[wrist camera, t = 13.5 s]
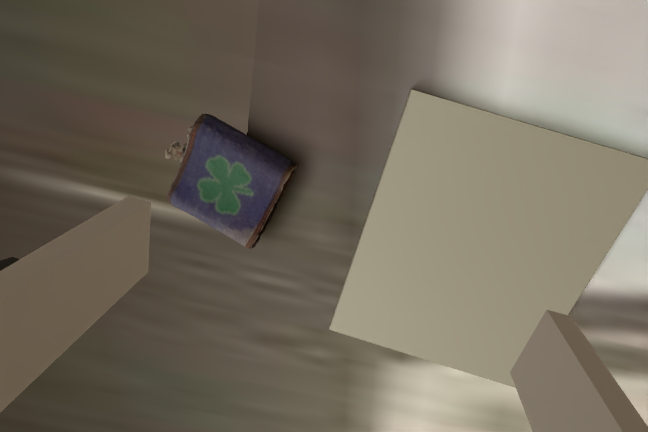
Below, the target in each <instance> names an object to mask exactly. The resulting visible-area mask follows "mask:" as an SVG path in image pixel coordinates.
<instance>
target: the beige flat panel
mask: <svg viewBox="0 0 648 432" xmlns="http://www.w3.org/2000/svg"><path fill="white" fill-rule="evenodd" d="M647 189H648V159H647V158H643V157H640V156H637V155H633V154H630V153H626V152H623V151H620V150H616V149H613V148H609V147H606V146H603V145H599V144H596V143H593V142H589V141H586V140H582V139H579V138H576V137H572V136H569V135H566V134H562V133H559V132H555V131H552V130H549V129H545V128H542V127H538V126H535V125H532V124H528V123H525V122H522V121H518V120H515V119H511V118H508V117H505V116H501V115H498V114H495V113H491V112H488V111H484V110H481V109H478V108H474V107H471V106H467V105H464V104H461V103H457V102H454V101H451V100H447V99H444V98H440V97H437V96H434V95H430V94H427V93H423V92H420V91H417V90H413V89H410V92H409V95H408V98H407V101H406V103H405V106H404V109H403V112H402V115H401V118H400V121H399V124H398V127H397V130H396V133H395V136H394V139H393V141H392V144H391V147H390V150H389V153H388V156H387V159H386V162H385V165H384V168H383V171H382V174H381V176H380V179H379V182H378V185H377V188H376V191H375V194H374V197H373V200H372V203H371V206H370V209H369V212H368V214H367V217H366V220H365V223H364V226H363V229H362V232H361V235H360V238H359V241H358V244H357V247H356V249H355V252H354V255H353V258H352V261H351V264H350V267H349V270H348V273H347V276H346V279H345V282H344V285H343V287H342V290H341V293H340V296H339V299H338V302H337V305H336V308H335V311H334V314H333V317H332V320H331V323H330V328H329V330H332V331H336V332H339V333H342V334H345V335H348V336H352V337H355V338H358V339H361V340H364V341H368V342H371V343H374V344H377V345H380V346H384V347H387V348H390V349H393V350H397V351H400V352H403V353H406V354H409V355H413V356H416V357H419V358H422V359H425V360H429V361H432V362H435V363H438V364H442V365H445V366H448V367H451V368H454V369H458V370H461V371H464V372H467V373H470V374H474V375H477V376H480V377H483V378H486V379H490V380H493V381H496V382H499V383H503V384H506V385H509V386H512V387H515V384H514V381H513V379H512V376H511V374H510V371H511V370H512V368H513V366H514V365H515V363H516V361H517V359H518V358H519V356H520V354H521V353H522V351H523V349H524V347H525V346H526V344H527V342H528V341H529V339H530V337H531V335H532V334H533V332H534V330H535V329H536V327H537V325H538V323H539V322H540V320H541V318H542V317H543V315H544V313H545V311H546V310H550V311H554V312H557V313H561V314H565V315H568V314H569V312H570V311H571V309H572V308H573V306H574V304H575V303H576V301H577V300H578V298H579V297H580V295H581V293H582V292H583V290H584V289H585V287H586V286H587V284H588V282H589V281H590V279H591V278H592V276H593V275H594V273H595V271H596V270H597V268H598V267H599V265H600V264H601V262H602V260H603V259H604V257H605V256H606V254H607V253H608V251H609V249H610V248H611V246H612V245H613V243H614V241H615V240H616V238H617V237H618V235H619V234H620V232H621V230H622V229H623V227H624V226H625V224H626V223H627V221H628V219H629V218H630V216H631V215H632V213H633V212H634V210H635V208H636V207H637V205H638V204H639V202H640V201H641V199H642V197H643V196H644V194H645V193H646V191H647ZM515 388H516V387H515Z"/></svg>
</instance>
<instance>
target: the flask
mask: <svg viewBox="0 0 648 432" xmlns="http://www.w3.org/2000/svg"><path fill="white" fill-rule="evenodd" d="M187 131H190V136H189V134H188V135H187V143H186V144H184V145H183V146H179V142H178V141H176V142H173V143H172V144H171V146H170V151H169V152H168V149H167V150H166V151H165V153H166V154H165V157H166V158H167V159H170V158H172V157H173V158H174V159H175V160H177V161H179V162H182V163H181V165H180V167H179V170H178V172H177V174H176V176H175V179H174V181H173V183H172V186H171V188H170V190H169V191H168V194H167V198H166V199H167V201H168V202H169V203H170V204H172V205H173V206H174V207H176V208H179V209H181V210H183V211H185V212H187V213H189V214H190V215H192V216H194V217H196V218H198V219H199V220H201V221H203V222H205V223H206V224H208V225H209V226H211V227H212V228H214V229H216V230H218V231H220V232H222V233H223V234H225V235H227V236H228V237H230V238H232V239H233V240H235V241H237V242H238V243H240V244H241V245H243V246H245V247H246V248H249V249H252V248H254V247H255V246H256V244H257V243H258V241H259V239H260V236H261V234H262V233H263V232H264V231H265V229H266V225H267V224H268V222H269V221H270V219H271V217H272V215H273V213H274V211H275V210H276V207H277V204H278V202H279V201H280V200H281V198H282V196H283V195H284V193H285V191H286V189H287V187H288V185H289V183H290V181H291V179H292V177H293V175H294V173H295V171H296V169H297V166H298V165H297V164H296V163H295V162H293V161H292V160H290V159H288V158H287V157H285V156H284V155H282V154H280V153H279V152H277V151H275V150H273V149H272V148H269V147H268V146H266V145H264V144H262V143H260V142H258V141H257V140H255V139H253V138H252V137H250V136H248V135H246V134H244V133H242V132H241V131H239V130H237V129H235V128H234V127H232V126H230V125H228V124H226V123H225V122H223V121H221V120H219V119H218V118H216V117H214V116H212V115H210V114H202V115H201V116H200V117H198V119H197V120H196V122H195V123H194V125H193V126H191V127H189V128H188V129H187ZM251 245H252V247H251Z"/></svg>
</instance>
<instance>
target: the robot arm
mask: <svg viewBox="0 0 648 432" xmlns="http://www.w3.org/2000/svg"><path fill="white" fill-rule="evenodd" d="M150 212H151V202H149V201H145V200H141V199H138V198H134V197H130V196H128V197H126V198H125V199H123V200H121V201H119V202H118V203H116V204H114V205H113V206H111V207H109V208H107V209H106V210H104V211H102V212H101V213H99V214H97V215H95V216H94V217H92V218H90V219H89V220H87V221H85V222H83V223H82V224H80V225H78V226H77V227H75V228H73V229H71V230H70V231H68V232H66V233H65V234H63V235H61V236H59V237H58V238H56V239H54V240H53V241H51V242H49V243H47V244H46V245H44V246H42V247H41V248H39V249H37V250H35V251H34V252H32V253H30V254H29V255H27V256H25V257H23V258H22V259H17V258H14V257H11V258H8V259H4V260H1V261H0V412H1V411H2V410H3V409H4V408H5V407H6V406H7V405H8V404H9V403H10V402H12V401H13V400H14V399H15V398H16V397H17V396H18V395H19V394H20V393H21V392H22V391H23V390H24V389H25V388H26V387H27V386H28V385H29V384H30V383H31V382H33V381H34V380H35V379H36V378H37V377H38V376H39V375H40V374H41V373H42V372H43V371H44V370H45V369H46V368H47V367H48V366H49V365H50V364H51V363H52V362H54V361H55V360H56V359H57V358H58V357H59V356H60V355H61V354H62V353H63V352H64V351H65V350H66V349H67V348H68V347H69V346H70V345H71V344H72V343H73V342H75V341H76V340H77V339H78V338H79V337H80V336H81V335H82V334H83V333H84V332H85V331H86V330H87V329H88V328H89V327H90V326H91V325H92V324H93V323H94V322H96V321H97V320H98V319H99V318H100V317H101V316H102V315H103V314H104V313H105V312H106V311H107V310H108V309H109V308H110V307H111V306H112V305H113V304H114V303H115V302H117V301H118V300H119V299H120V298H121V297H122V296H123V295H124V294H125V293H126V292H127V291H128V290H129V289H130V288H131V287H132V286H133V285H134V284H135V283H137V282H138V281H139V280H140V279H141V278H142V277H143V276H144V275H145V274H146V273H147V272H148V258H149V235H150ZM510 374H511V376H512V379H513V381H514V384H515V387H516V389H517V392H518V394H519V397H520V399H521V402H522V405H523V407H524V410H525V412H526V415H527V417H528V420H529V423H530V425H531V428H532V430H533V432H648V426H647V425H646V424H645V422H644V421H643V419H642V418H641V416H640V415H639V414H638V412H637V411H636V409H635V408H634V406H633V405H632V403H631V402H630V401H629V399H628V398H627V396H626V395H625V393H624V392H623V391H622V389H621V388H620V386H619V385H618V383H617V382H616V381H615V379H614V378H613V376H612V375H611V373H610V372H609V370H608V369H607V368H606V366H605V365H604V363H603V362H602V360H601V359H600V358H599V356H598V355H597V353H596V352H595V350H594V349H593V348H592V346H591V345H590V343H589V342H588V340H587V339H586V337H585V336H584V335H583V333H582V332H581V330H580V329H579V327H578V326H577V325H576V323H575V322H574V320H573V319H572V317H571V316H568V315H565V314H561V313H557V312H554V311H550V310H546V311H545V313H544V315H543V317H542V318H541V320H540V322H539V323H538V325H537V327H536V329H535V330H534V332H533V334H532V335H531V337H530V339H529V341H528V342H527V344H526V346H525V347H524V349H523V351H522V353H521V354H520V356H519V358H518V359H517V361H516V363H515V365H514V366H513V368H512V370H511V371H510Z"/></svg>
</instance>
